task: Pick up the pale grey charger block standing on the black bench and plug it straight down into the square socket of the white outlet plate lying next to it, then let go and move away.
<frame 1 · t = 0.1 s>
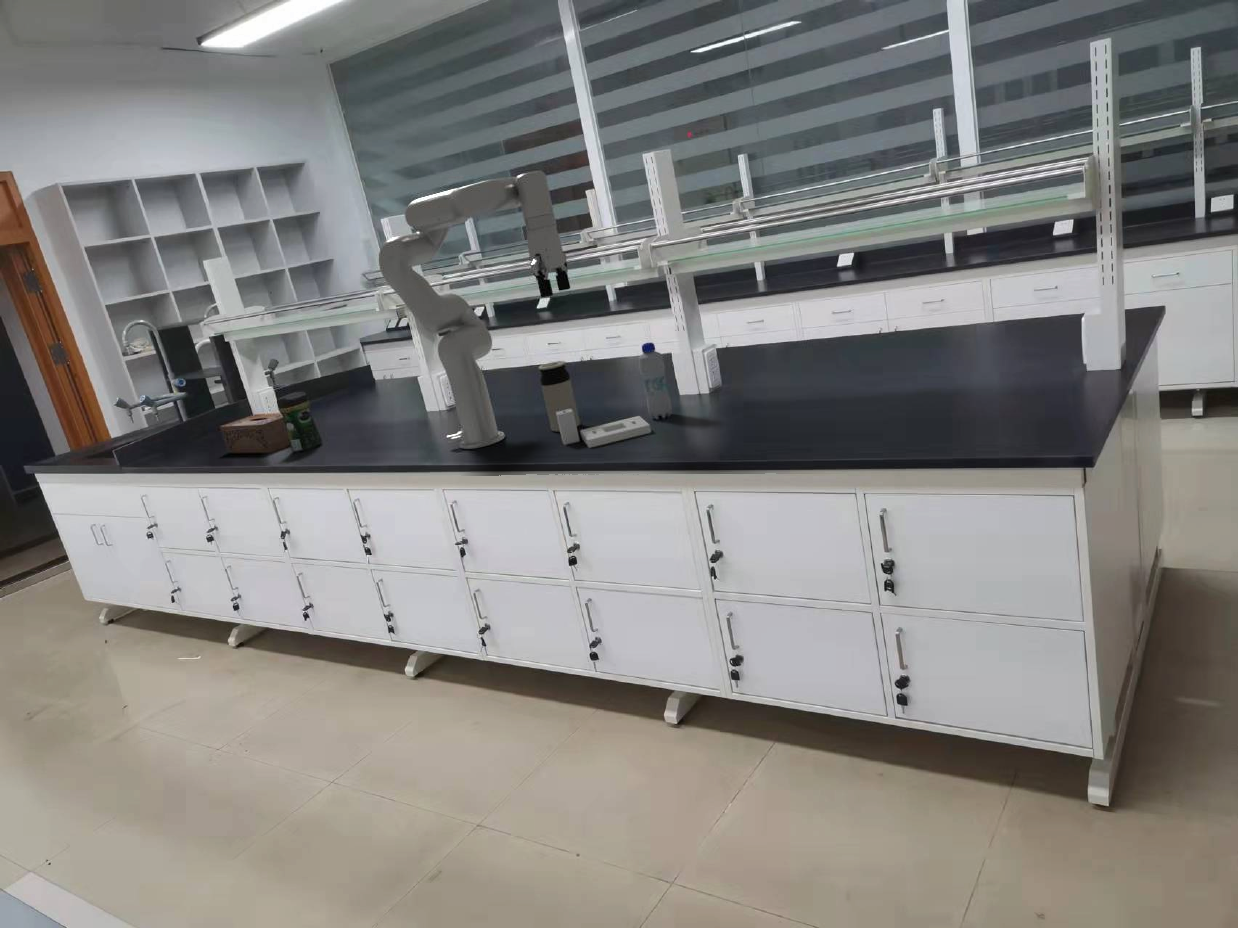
hand: (556, 293, 222), 37 cm above the countertop, tool pointing down, fingers open, 9 cm apart
tissue box cover: (267, 447, 307), on the countertop
bottle: (661, 417, 232), on the countertop
charger: (571, 441, 227), on the countertop
travel mug: (566, 428, 243), on the countertop
outlet plate: (615, 435, 224), on the countertop
coffee jar: (307, 448, 289), on the countertop
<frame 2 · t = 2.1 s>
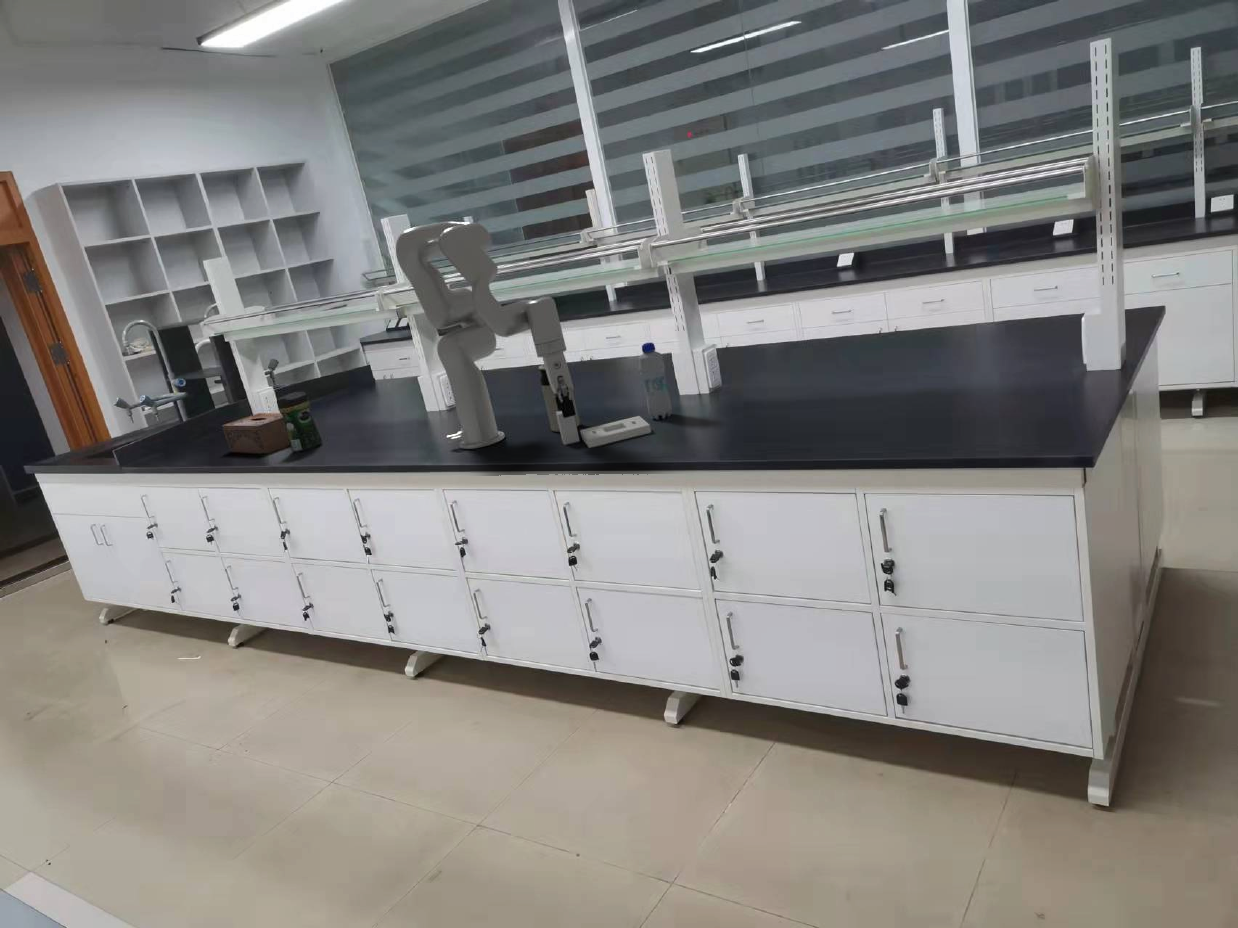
hand: (567, 413, 225), 8 cm above the countertop, tool pointing down, fingers open, 9 cm apart
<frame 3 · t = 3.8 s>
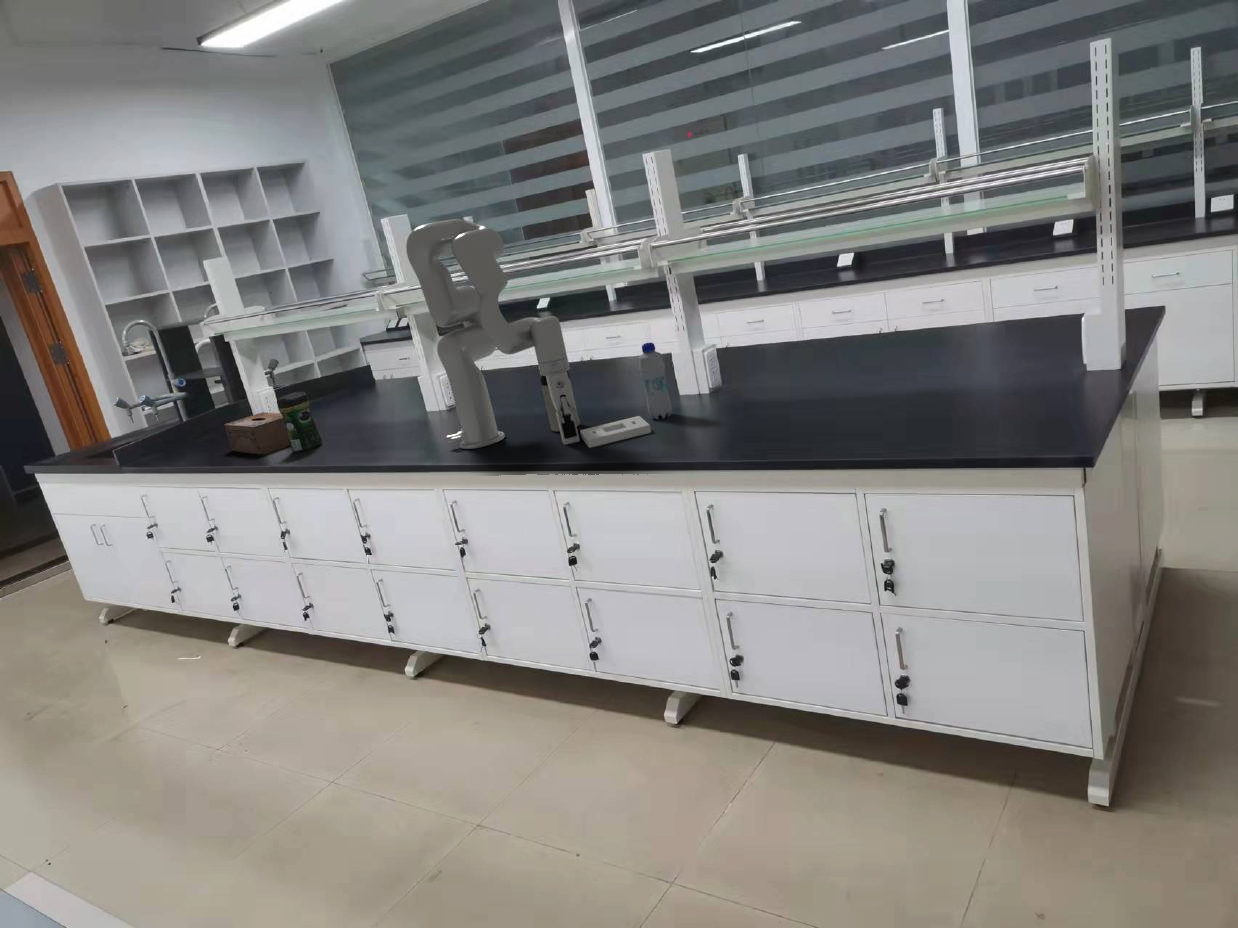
hand: (569, 434, 227), 2 cm above the countertop, tool pointing down, fingers closed on charger, 3 cm apart
charger: (571, 441, 227), on the countertop, touching gripper
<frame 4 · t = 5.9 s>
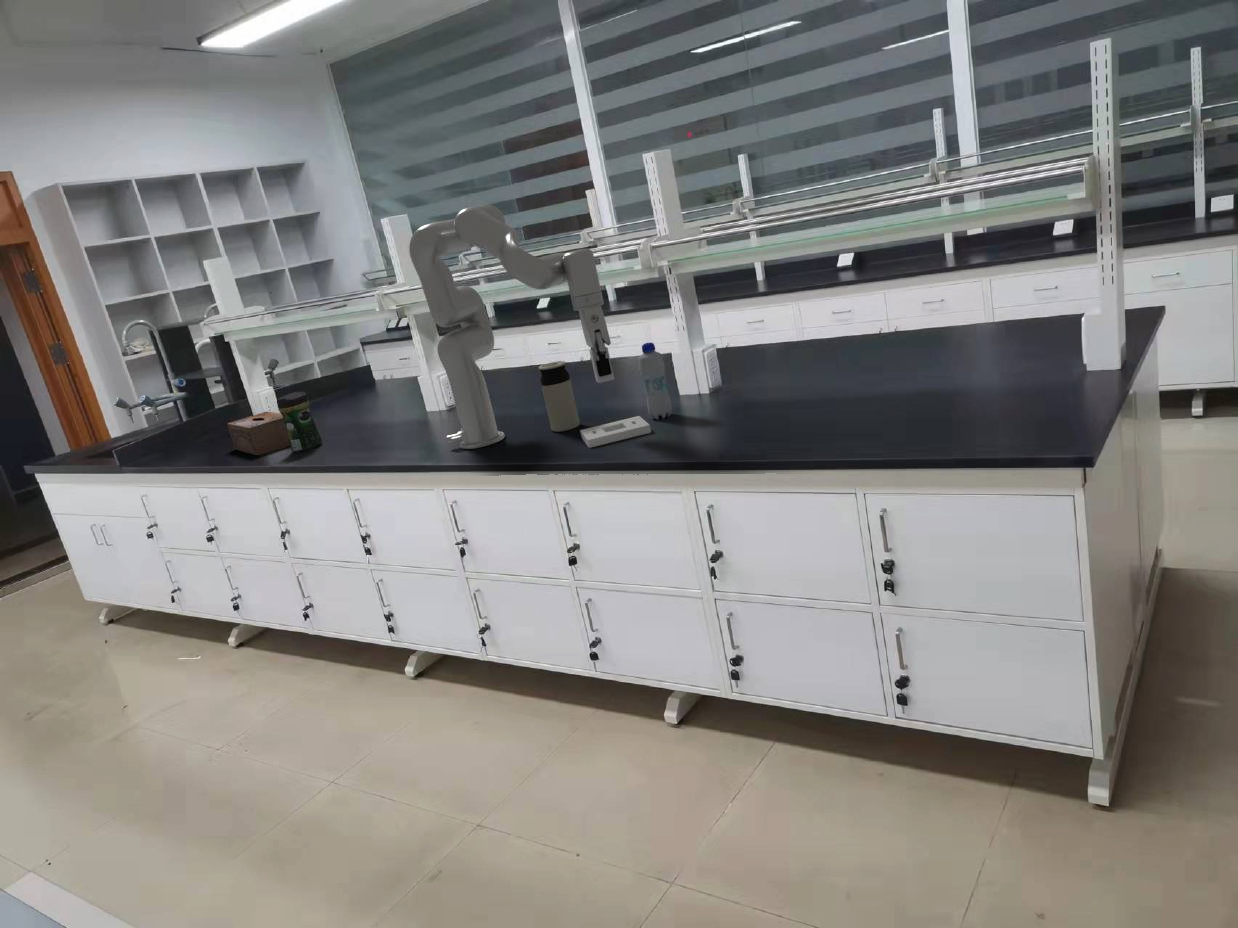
hand: (603, 373, 219), 16 cm above the countertop, tool pointing down, fingers closed on charger, 4 cm apart
charger: (605, 380, 220), point 14 cm above the countertop, touching gripper
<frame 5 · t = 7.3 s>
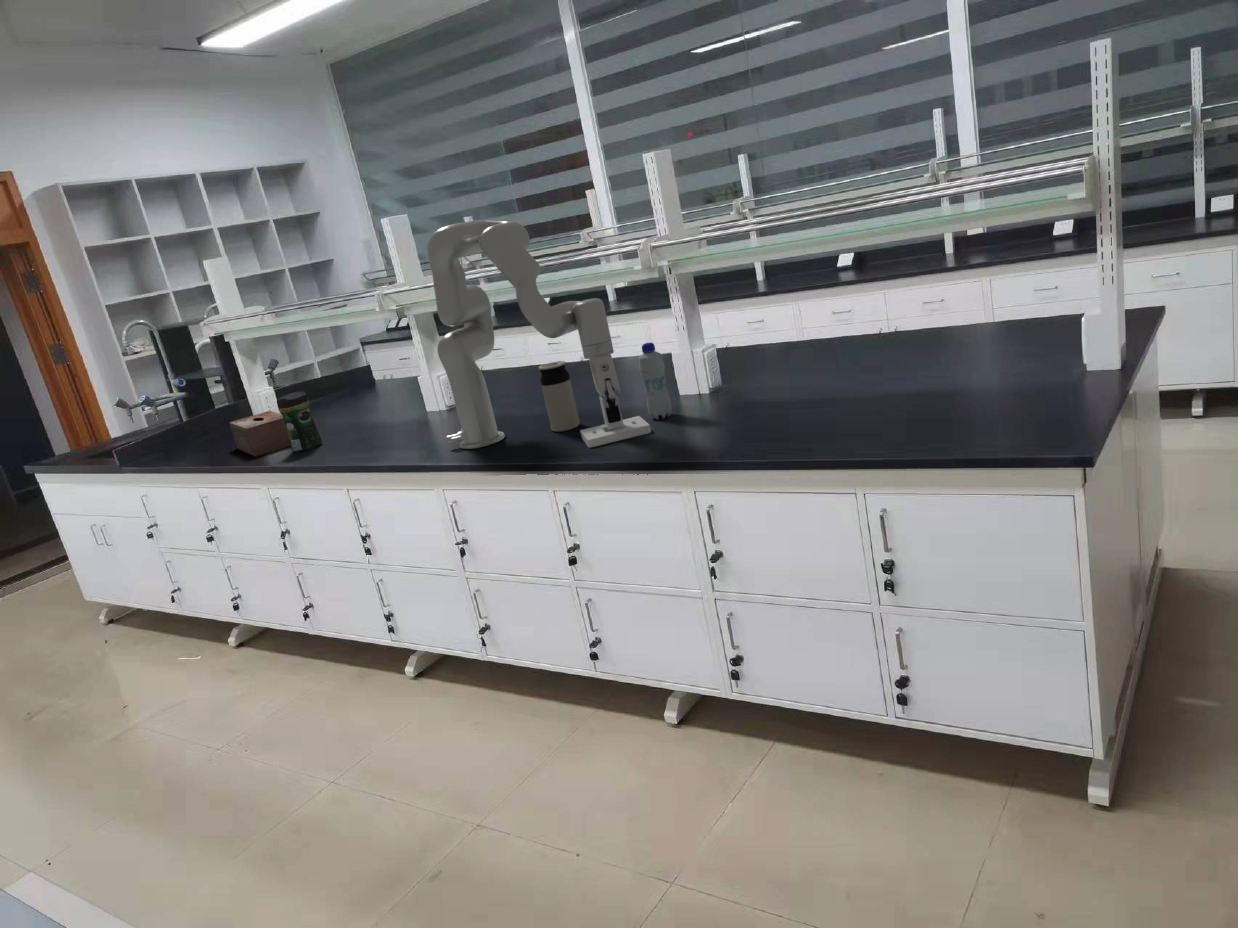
hand: (613, 419, 223), 4 cm above the countertop, tool pointing down, fingers closed on charger, 4 cm apart
charger: (614, 426, 223), point 2 cm above the countertop, touching gripper
when the fingers open (3 cm above the countertop, at t = 8.2 s): charger stays where it is, resting in outlet plate.
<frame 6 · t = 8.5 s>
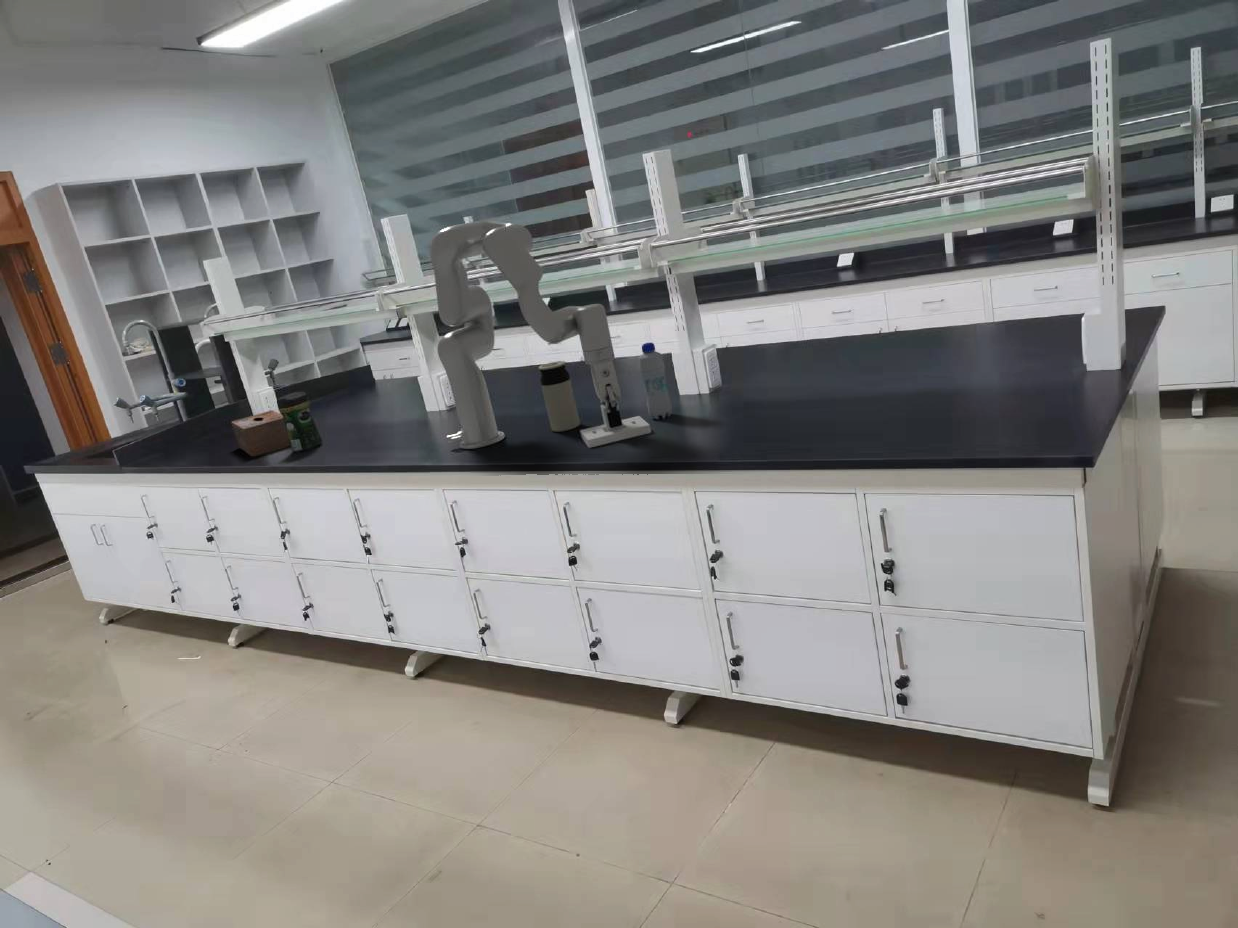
hand: (613, 423, 223), 3 cm above the countertop, tool pointing down, fingers open, 6 cm apart
charger: (615, 435, 224), resting in outlet plate
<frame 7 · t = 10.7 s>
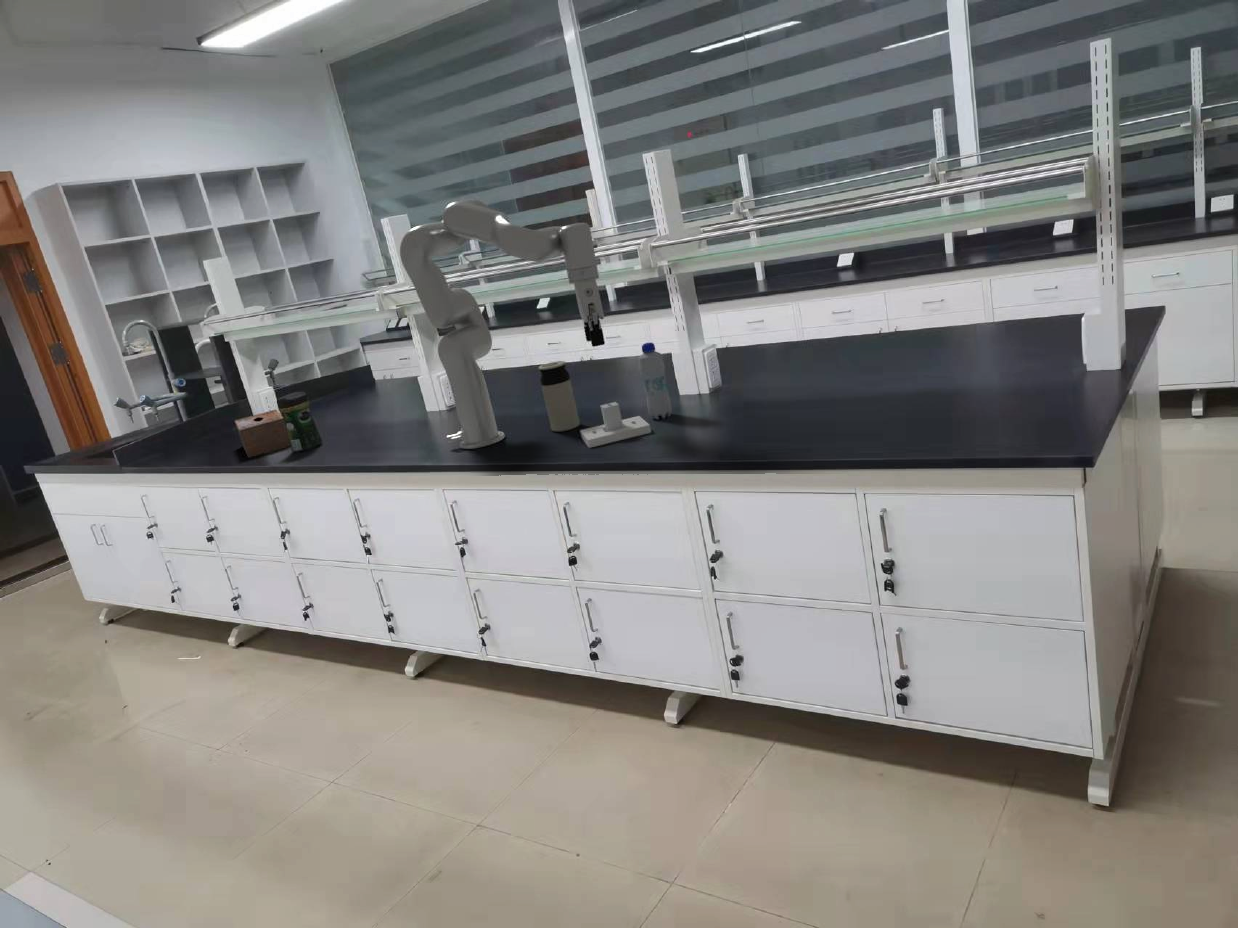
hand: (595, 343, 222), 23 cm above the countertop, tool pointing down, fingers open, 9 cm apart
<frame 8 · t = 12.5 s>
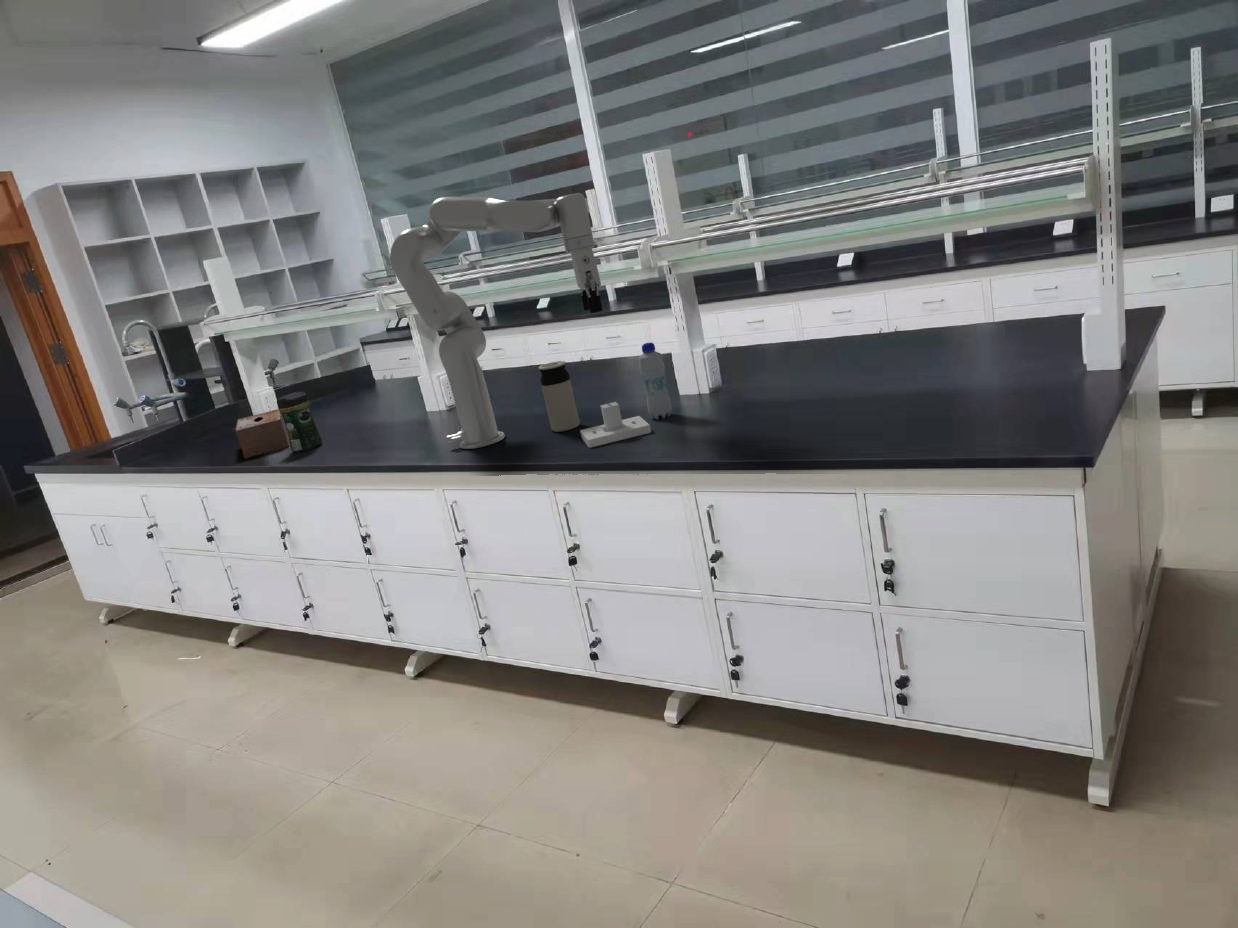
hand: (593, 310, 229), 30 cm above the countertop, tool pointing down, fingers open, 9 cm apart
at the end: charger 0.0 cm off-centre on the outlet plate, point 0.0 cm above the outlet plate's base; charger tilted 0°; the gripper is holding nothing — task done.
